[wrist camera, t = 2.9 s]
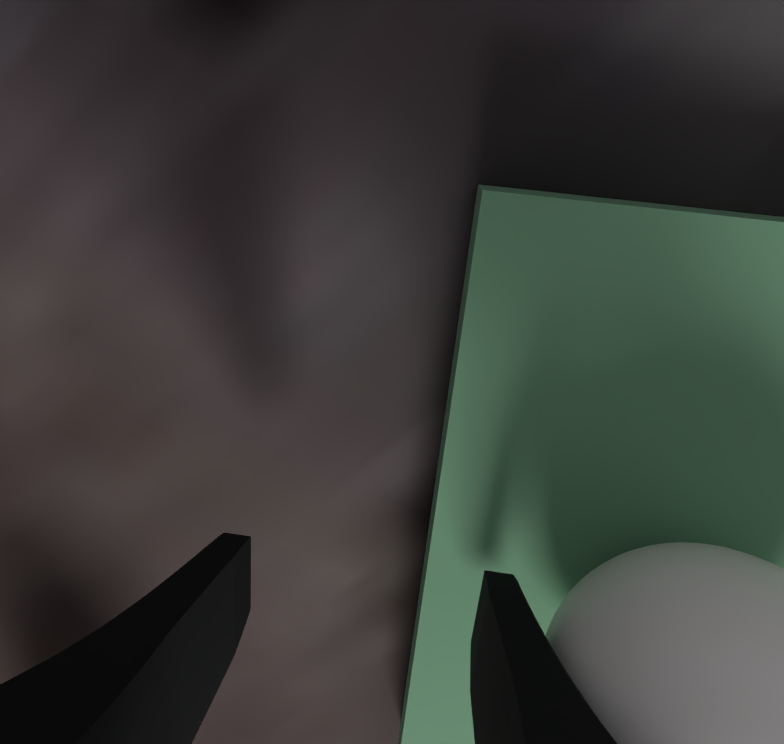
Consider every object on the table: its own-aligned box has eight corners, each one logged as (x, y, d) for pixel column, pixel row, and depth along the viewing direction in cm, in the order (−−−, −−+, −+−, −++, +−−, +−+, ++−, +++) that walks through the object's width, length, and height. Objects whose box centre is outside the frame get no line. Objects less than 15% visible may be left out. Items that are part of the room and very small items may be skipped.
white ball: (731, 703, 14) (942, 1056, 9) (492, 680, 14) (548, 1021, 9) (816, 497, 12) (1168, 787, 7) (537, 470, 12) (650, 737, 6)
